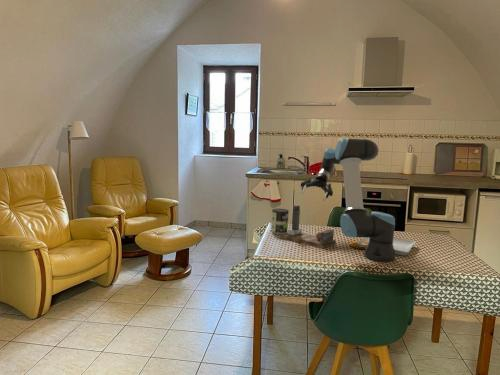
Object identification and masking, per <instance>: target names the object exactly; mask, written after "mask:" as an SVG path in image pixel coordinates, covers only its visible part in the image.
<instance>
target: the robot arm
mask: <svg viewBox="0 0 500 375" xmlns="http://www.w3.org/2000/svg"><path fill="white" fill-rule="evenodd" d="M379 151H380V150H379V146H378V145H377V143H376V142H375V141H373V140H371V139H367V138H348V137H347V138H346V137H345V138H340V139H339V140H338V141H337V144H336V147H335V149H334V148H332V147H330V148H326V149H325V150H324V153H323V157H322V161H321V165H320V168H319V171H318V173H317V174H316V177H315V179H313V178H312V177H309V178H308V179H306V180H303V181H302V182H300V187H301V194H300V195H303V194H304V192H305V191H306V189H307V188H310V187H317V188H320V189H321V190H323V191H324V193H325V195H324V196H323V200H322V201H323V202H325V200H326V199H328V198H329V197H333V193H334V191H333V189H332V186H331V185H332V183H328V181H329V179H330V177H331V175H332V173H333V171H334V165H340V166H342V171H343V172H342V173H343V184H344V198H345V209H344V211H343V214H341V216H340V221H339V224H340V229H341V232H342V233H343V235H344V236H345V237H348V238H353V239H354V238H364V237H367V238H369V243H368V245H367V247H366V248H365V250H364V257H365V258H367V259H369V260H372V261H376V262H387V263H390V262H394V261H395V260H396V254H395V252H394V247H393V237H395V236H394V235H395V227H396V218H395V217H394V216H393V215H392V214H389V213H385V212H381V211H371V214H368V211H367V209H366V208H364V201H363V200H364V199H363V191H362V190H363V188H362V179H361V170H360V169H361V168H360V165H361V164H362V162H363V161H366V162H367V161H372V160H374V159H376V158H377V156H378V155H379Z"/></svg>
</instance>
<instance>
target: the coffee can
mask: <svg viewBox="0 0 500 375" xmlns="http://www.w3.org/2000/svg"><path fill="white" fill-rule="evenodd" d="M271 213H272V214H271V233H272V234H277V235H283V234H286V233H288V230H289V227H288V226H289V225H288V224H289V209H285V208H273V209H272V212H271Z"/></svg>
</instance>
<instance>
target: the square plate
mask: <svg viewBox="0 0 500 375" xmlns="http://www.w3.org/2000/svg"><path fill="white" fill-rule="evenodd" d="M364 242H369V238H367V237H362V239H360V240H359V241H358V242H357V243H356V244H357V246H358V247H359V248H362V247H367V245H363V244H362V243H364ZM415 244H417V241H416V240H411V239H406V238H400V237H395V236H394V237H393V247H394V252H395V255H400V256H405V255H408V254H409V253H410V252H411V250H412V247H413V246H414V245H415Z"/></svg>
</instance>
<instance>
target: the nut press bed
mask: <svg viewBox="0 0 500 375" xmlns="http://www.w3.org/2000/svg"><path fill="white" fill-rule="evenodd" d="M334 233H335V230H334V229H330V228H329V229H326V230H323V231H320V232H317V233H316V234H310V233H305V232H302V233H301V234H298V235H295V236H292V235H288V232H287V233H286V234H280V235H281V239H284V240H287V241H291V242H292V241H293V242H295V243H300V244H304V245H309V246H312V247H313V246H314V247H318V248H322V249H325V248H328V247H331V246H332V245H336V241H337V240H336V239H334V236H335V234H334Z"/></svg>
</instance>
